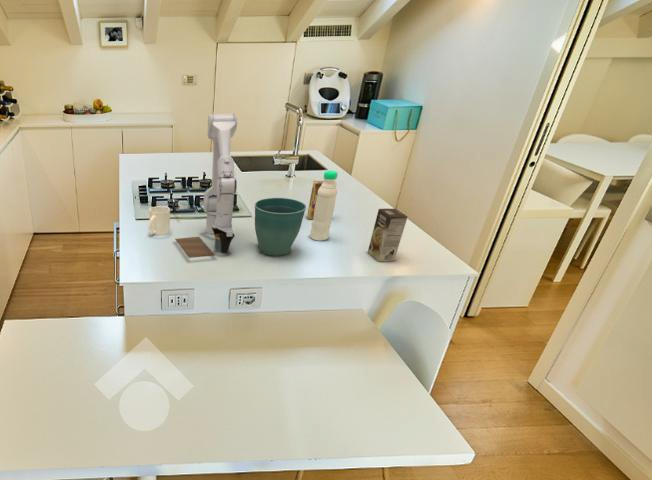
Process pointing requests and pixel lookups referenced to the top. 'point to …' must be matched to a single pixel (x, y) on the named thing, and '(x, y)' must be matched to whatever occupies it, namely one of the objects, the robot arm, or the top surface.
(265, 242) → the flower pot
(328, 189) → the water bottle
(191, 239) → the cutting board
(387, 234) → the coffee box
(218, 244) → the sugar pot
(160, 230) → the mug
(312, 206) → the candy box
